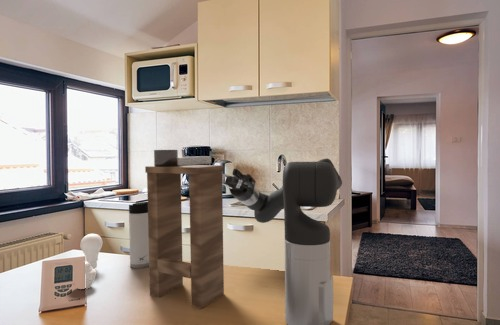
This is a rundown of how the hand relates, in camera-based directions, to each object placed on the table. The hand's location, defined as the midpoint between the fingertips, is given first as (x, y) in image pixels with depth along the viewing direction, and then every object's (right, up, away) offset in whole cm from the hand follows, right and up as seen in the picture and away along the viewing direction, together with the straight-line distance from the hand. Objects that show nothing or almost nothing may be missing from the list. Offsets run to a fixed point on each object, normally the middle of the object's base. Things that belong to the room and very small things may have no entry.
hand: (222, 170), depth 108 cm
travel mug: (-26, -30, +1) cm, 39 cm away
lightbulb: (-39, -30, -3) cm, 49 cm away
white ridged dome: (-35, -31, -17) cm, 49 cm away
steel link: (-9, +2, -17) cm, 19 cm away
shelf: (-7, -30, -22) cm, 38 cm away
